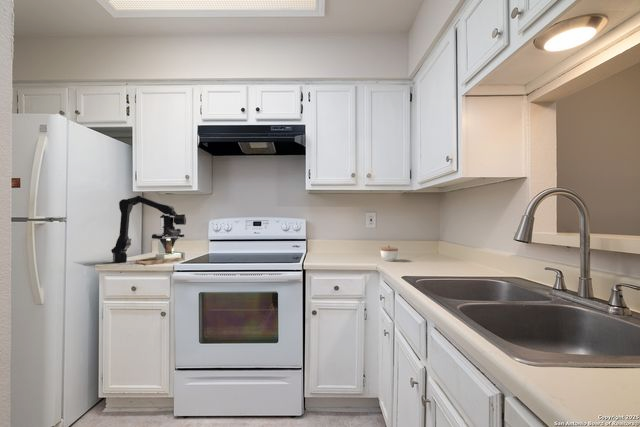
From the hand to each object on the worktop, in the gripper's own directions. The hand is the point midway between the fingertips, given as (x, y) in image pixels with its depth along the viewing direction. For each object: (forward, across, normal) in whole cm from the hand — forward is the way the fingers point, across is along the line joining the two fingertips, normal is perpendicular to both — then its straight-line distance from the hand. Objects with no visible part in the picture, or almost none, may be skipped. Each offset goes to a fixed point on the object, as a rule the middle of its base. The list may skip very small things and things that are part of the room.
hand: (168, 248), depth 198 cm
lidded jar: (+8, +79, -118) cm, 142 cm away
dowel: (+2, 0, 0) cm, 2 cm away
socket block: (+6, 0, 0) cm, 6 cm away
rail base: (+8, -5, 0) cm, 9 cm away
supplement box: (+8, +7, +17) cm, 20 cm away
